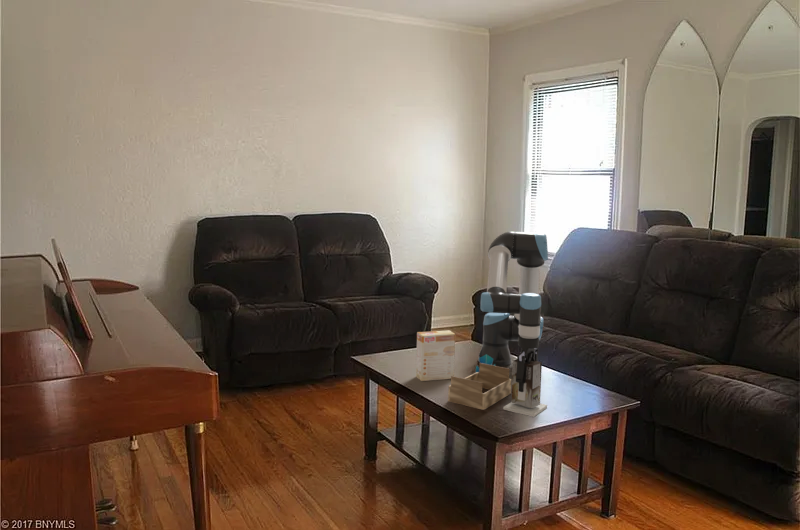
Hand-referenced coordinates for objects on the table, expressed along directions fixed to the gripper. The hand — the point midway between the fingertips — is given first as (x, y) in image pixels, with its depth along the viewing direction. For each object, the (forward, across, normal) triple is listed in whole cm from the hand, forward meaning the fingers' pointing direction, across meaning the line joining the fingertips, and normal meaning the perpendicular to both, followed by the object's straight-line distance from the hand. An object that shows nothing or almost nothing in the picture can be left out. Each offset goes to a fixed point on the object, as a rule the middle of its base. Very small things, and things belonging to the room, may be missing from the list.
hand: (525, 396), depth 239 cm
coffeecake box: (+5, -11, -46) cm, 48 cm away
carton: (+4, 0, -19) cm, 20 cm away
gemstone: (+5, -21, -27) cm, 34 cm away
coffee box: (+3, 0, 0) cm, 3 cm away
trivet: (+4, 0, 0) cm, 4 cm away
